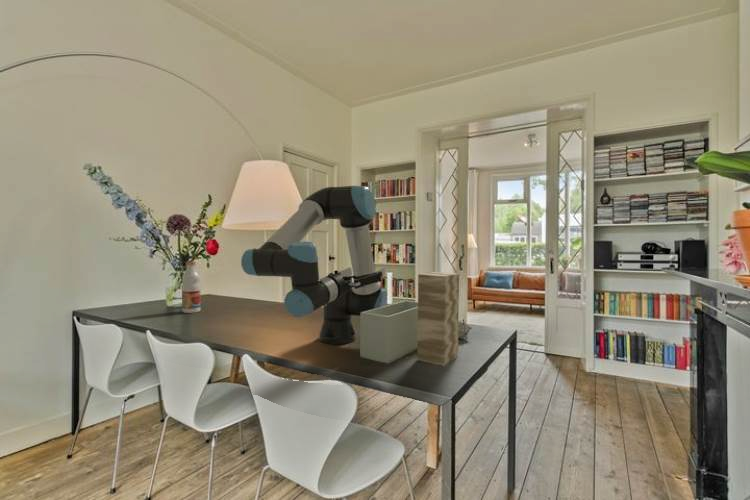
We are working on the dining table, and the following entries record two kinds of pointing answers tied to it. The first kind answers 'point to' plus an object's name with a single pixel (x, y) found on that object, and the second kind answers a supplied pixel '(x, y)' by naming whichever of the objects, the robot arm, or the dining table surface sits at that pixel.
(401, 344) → the bin
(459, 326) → the grey bushy clump
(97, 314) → the dining table surface
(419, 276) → the stand
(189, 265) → the fruit juice
